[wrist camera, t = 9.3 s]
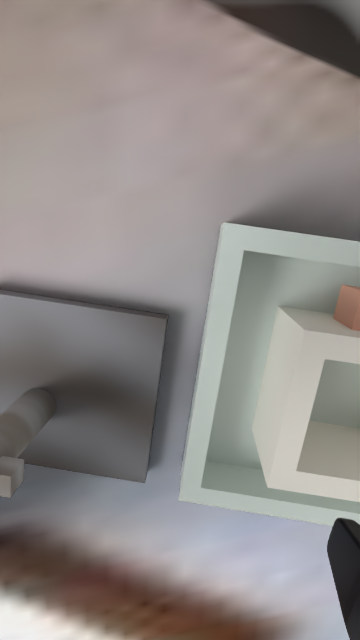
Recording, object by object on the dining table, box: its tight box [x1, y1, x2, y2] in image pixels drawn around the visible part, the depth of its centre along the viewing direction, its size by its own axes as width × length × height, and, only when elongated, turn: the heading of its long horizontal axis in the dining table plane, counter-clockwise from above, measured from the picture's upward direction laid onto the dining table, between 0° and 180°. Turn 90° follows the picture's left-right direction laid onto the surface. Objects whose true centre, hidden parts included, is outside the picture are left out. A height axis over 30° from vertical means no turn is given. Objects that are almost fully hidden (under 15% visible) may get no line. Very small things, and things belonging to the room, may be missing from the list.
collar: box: [252, 284, 360, 502], centre depth 15 cm, size 7×9×4 cm
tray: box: [179, 222, 360, 526], centre depth 17 cm, size 14×14×3 cm
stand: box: [0, 290, 168, 498], centre depth 16 cm, size 10×10×7 cm
